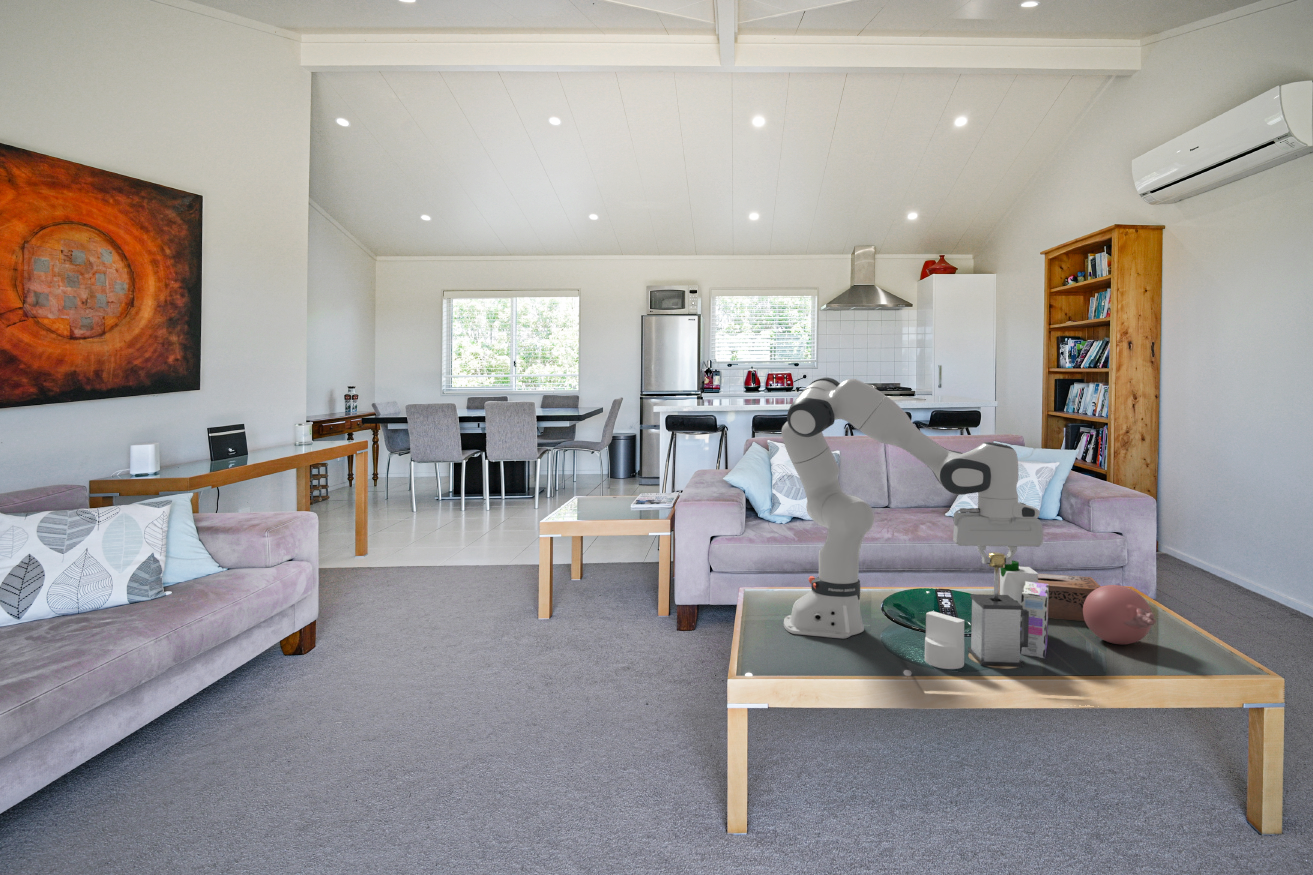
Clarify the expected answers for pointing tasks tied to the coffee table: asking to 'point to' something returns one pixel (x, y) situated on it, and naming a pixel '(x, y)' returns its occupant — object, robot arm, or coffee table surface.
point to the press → (998, 630)
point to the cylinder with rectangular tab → (944, 641)
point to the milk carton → (1015, 580)
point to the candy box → (1036, 618)
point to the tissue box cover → (1066, 595)
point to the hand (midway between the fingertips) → (996, 563)
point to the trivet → (989, 666)
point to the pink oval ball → (1117, 614)
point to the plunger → (996, 569)
